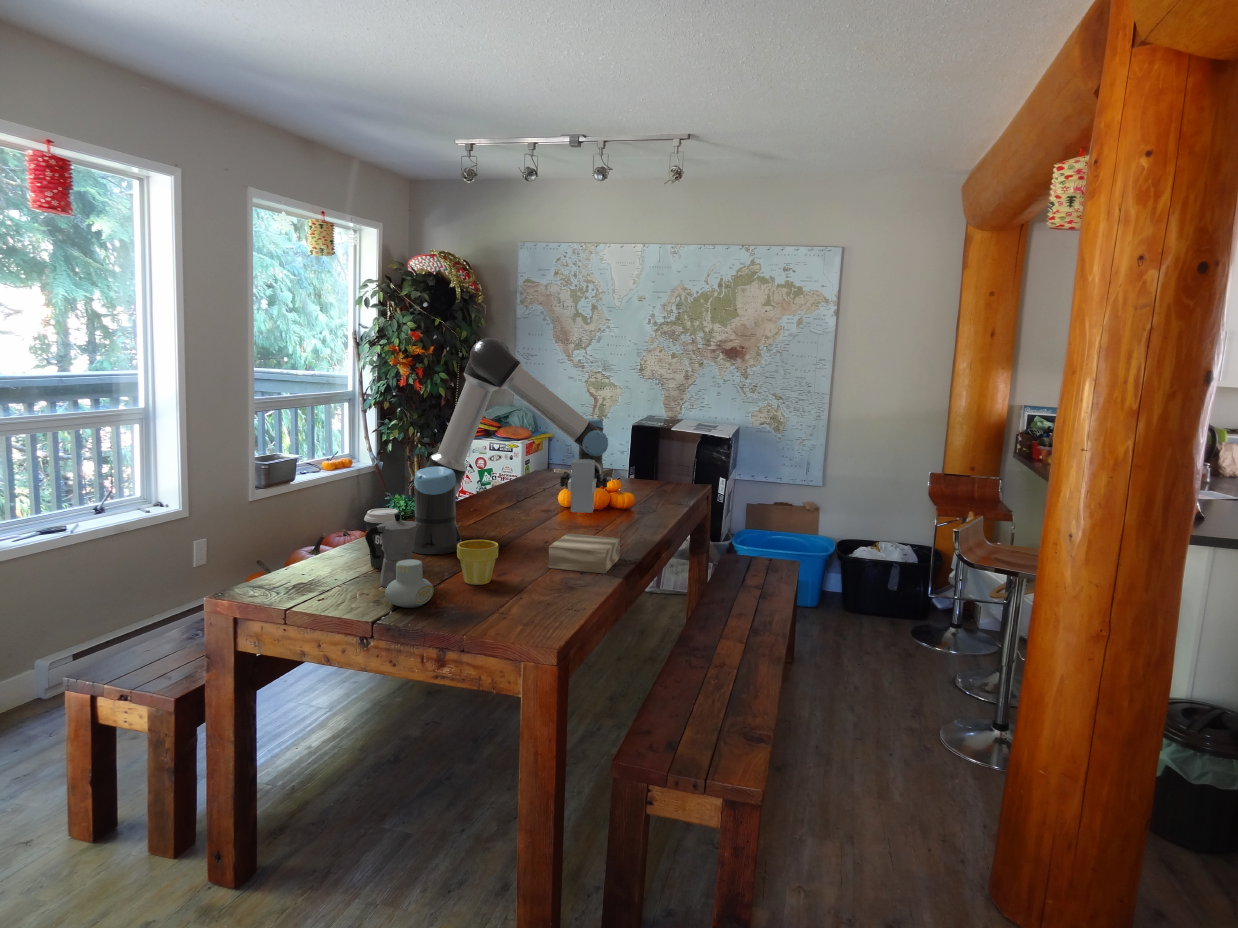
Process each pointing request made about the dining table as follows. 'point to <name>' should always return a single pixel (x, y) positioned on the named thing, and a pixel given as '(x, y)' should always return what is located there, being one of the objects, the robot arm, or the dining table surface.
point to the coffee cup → (375, 519)
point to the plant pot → (477, 560)
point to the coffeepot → (393, 545)
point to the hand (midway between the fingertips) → (581, 487)
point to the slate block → (582, 485)
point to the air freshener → (409, 585)
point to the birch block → (584, 553)
